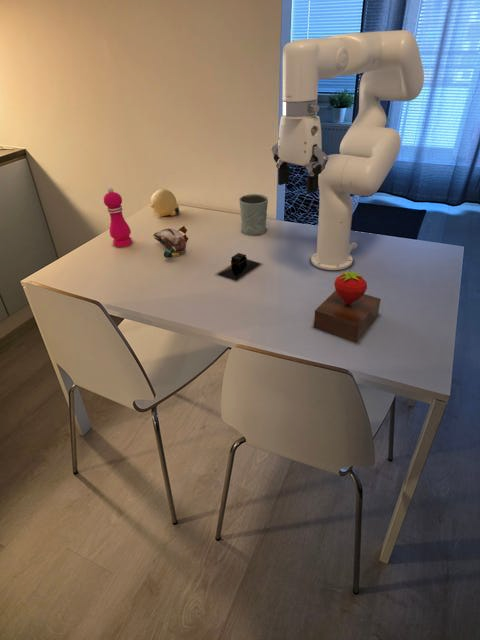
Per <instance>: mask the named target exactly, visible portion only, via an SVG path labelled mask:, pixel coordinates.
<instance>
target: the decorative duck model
mask: <svg viewBox="0 0 480 640" xmlns="http://www.w3.org/2000/svg"><path fill="white" fill-rule="evenodd" d="M187 232H188V229H187V228H186V226H185V225H182V226H181V227H180V228H179V229H178V230H177V229H174V228H164V229H161V230H159V231H157V232H155V233H153V236H152V237H153V239H155V240H156V241H157V242H159V244H161V245H162V246H163V247H165V248H166V250H164V253H163V257H164V258H165V259H170V258H174V257H180V256H181V254H180V253H182V252H184V251H185V250H186V248H187V243H188V240H189V239H190V238H189V237H188V236H187Z"/></svg>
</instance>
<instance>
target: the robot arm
mask: <svg viewBox="0 0 480 640" xmlns="http://www.w3.org/2000/svg"><path fill="white" fill-rule="evenodd" d="M422 62H423V61H422V58H421V52H420V49H419V45H418V41H417V40H416V37H415V35H414V34H413V33H412V32H411V31H410V30H407V29H402V30H401V29H399V30H398V29H397V30H382V31H380V30H379V31H367V32H364V31H363V32H351V33H345V34H344V33H342V34H336V35H331V36H325V37H315V38H314V37H313V38H301V39H294V40H292V41H290V42H287V43H286V44H285V45H284V46H283V49H282V80H281V81H282V87H281V88H282V94H281V97H282V98H281V99H282V101H281V103H282V105H281V106H282V108H281V111H282V113H281V116H280V121H279V128H278V138H277V139H278V140H277V143H275V144H274V145H271V147H270V149H271V152H272V155H273V160H274V162H275V163H276V164H275V167H276V168H277V185H278V186H283V185H286V184H289V182H290V166H289V164H292V165H296V166H300V167H305V169H306V171H307V173H308V175H307V176H306V193H307V194H313V193H315V192H316V193H317V192H318V193H319V202H318V203H319V205H318V221H317V238H316V252H314V253H313V254H312V255H311V257H310V262H311V264H312V265H313V266H314V267H316V268H318V269H321V270H325V271H341V270H345V269H348V268H350V267H351V266H352V264H353V255H351V254H350V253H351V252H352V251H353V250H356V249H357V248H358V244H357V242H356V241H355V242H351V243H350V239H351V231H352V222H353V213H354V204H353V201H352V200H353V199H352V197H351V195H354V196H359V197H371V196H373V195H375V194H376V193H377V192H378V190H379V189H380V187H381V186H382V184H383V183H384V181H385V179H386V178H387V176H388V174H389V173H390V171H391V169H392V168H393V166H394V164H395V162H396V160H397V159H398V156H399V153H400V150H401V144H402V139H401V135H400V133H399V131H397V129H394V128H391V127H386V126H387V123H388V122H387V121H388V118H387V115H386V112H385V109H384V108H383V106H382V105H381V101H388V102H410V101H413V100H415V99H416V98H418V97H419V95H420V94H421V93H422V90H423V87H424V83H425V73H424V67H423V63H422ZM359 74H362V75H361V78H360V81H359V90H358V113H357V115H356V117H355V118H354V120H353V122H352V123H351V125H350V127H348V130H347V131H346V133H345V134H344V136H343V138H342V140H341V142H340V145H339V153H333V154H329V155H327V154H326V153H325V152H324V151H323V150H322V147H323V145H322V143H323V142H322V125H321V118H320V116H319V115H317V114H318V112H319V111H320V105H319V104H318V96H319V95H318V93H319V80H332V79H335V78H338V77H341V76H342V77H345V76H354V75H359Z"/></svg>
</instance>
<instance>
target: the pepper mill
mask: <svg viewBox="0 0 480 640" xmlns="http://www.w3.org/2000/svg"><path fill="white" fill-rule="evenodd" d="M122 203H123V198H122V196H121V194H120V193H118V192H116V191H114V189H113V188H112V187H109V188H108V189H107V192H106V194H104V196H103V204H104V206H106V207H107V208H106V210H107V213H109V217H110V225H109V236H110V237H111V238H112V239H113V240H112V242H113V245H114V247H116V248H125V247H128V246H130V245H131V244H132V237H131V234H132V232H131V228H130V226H129V224H128V223H127V221H126V219H125V217H124V215H123V210H124V208H123V206H122Z"/></svg>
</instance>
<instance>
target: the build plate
mask: <svg viewBox="0 0 480 640" xmlns="http://www.w3.org/2000/svg"><path fill="white" fill-rule="evenodd" d="M260 265H261V263H260V262H256V261H253V260H249V259H248V257H247V255H246V254H244V253H241V252H238V253H236V254H234V255H232V256H231V260H230V265H229V266H228V267H226V268H225V269H223V270H222V271H220V272H218V274H217V275H218V276H221V277H223V278H226V279H229V280H232V281H238V280H240V279H241V278H243V277H244V276H246V275H247V274H249V273H250V272H251V271H253V270H254V269H256V268H257V267H259V266H260Z"/></svg>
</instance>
